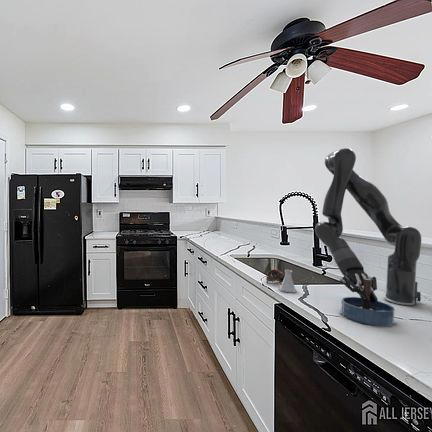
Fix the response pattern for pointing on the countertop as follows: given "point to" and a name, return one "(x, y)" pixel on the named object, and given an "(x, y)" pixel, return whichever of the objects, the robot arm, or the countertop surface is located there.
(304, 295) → the countertop surface
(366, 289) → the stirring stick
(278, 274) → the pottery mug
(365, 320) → the mixing bowl
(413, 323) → the countertop surface
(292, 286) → the flask
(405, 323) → the countertop surface
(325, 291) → the countertop surface
